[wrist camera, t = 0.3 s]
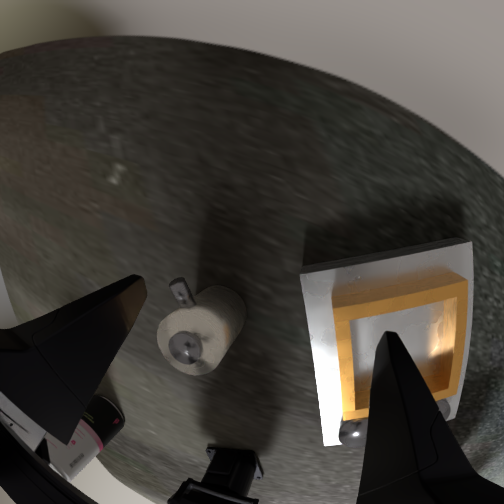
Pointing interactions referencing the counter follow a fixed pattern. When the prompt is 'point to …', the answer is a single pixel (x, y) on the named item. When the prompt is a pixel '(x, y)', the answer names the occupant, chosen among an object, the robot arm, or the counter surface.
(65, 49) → the counter surface
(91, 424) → the beverage can
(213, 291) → the spout can
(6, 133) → the counter surface
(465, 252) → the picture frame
